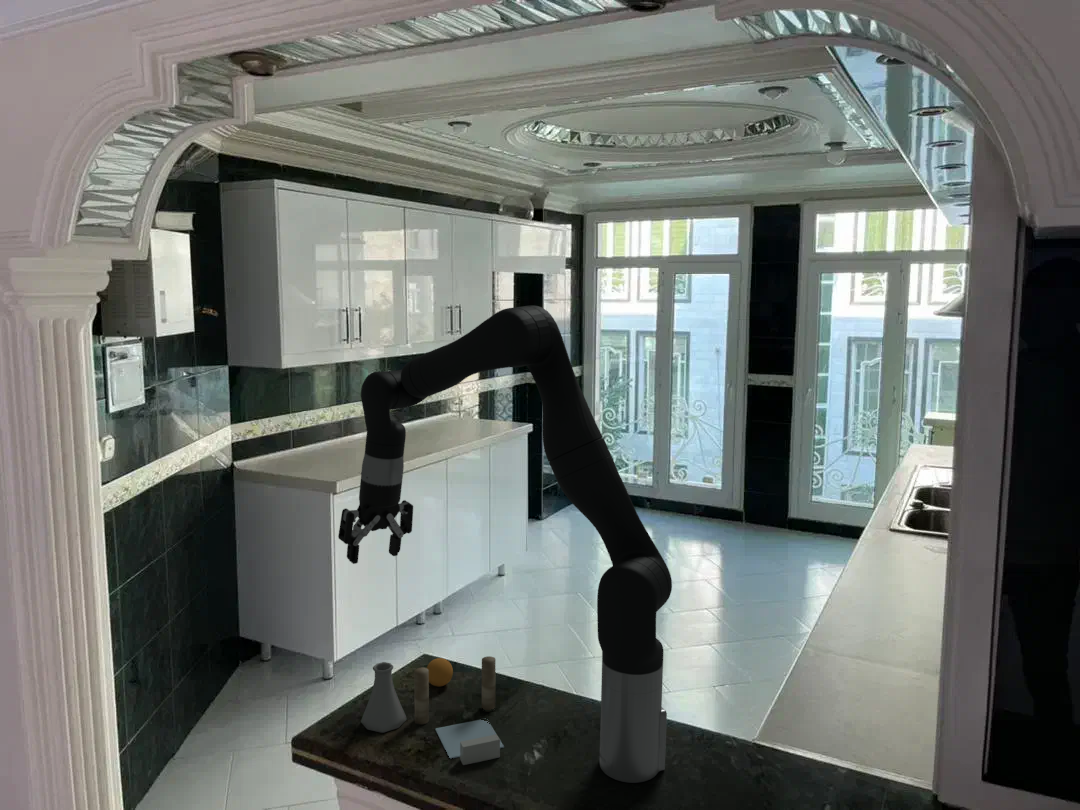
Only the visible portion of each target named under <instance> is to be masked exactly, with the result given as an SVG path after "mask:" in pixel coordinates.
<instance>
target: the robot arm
mask: <svg viewBox="0 0 1080 810" xmlns="http://www.w3.org/2000/svg"><path fill="white" fill-rule="evenodd" d="M565 344H566V343H565V341H564V339H563V337H562V333H561V331H560V328H559V326H558V323H557V322H556V320H555V318H554V317H553V315H552V314H551V313H550V312H549V311H548V310H547V309H545V308H543V307H542V306H538V305H525V306H524V305H523V306H516V307H507V308H504V309H501V310H498V311H497V312H495V313H494V314H493V315H491V316H490V317H488V318H487V319H486V320H484V321H483V322H481V323H480V324H478V325H477V326H476V327H474V328H473V329H472V330H470V331H469V332H467V333H466V334H464V335H463V336H461V337H460V338H457V339H456V340H453V341H452V342H450V343H448V344H445V345H443V346H440V347H438V348H434V349H433V350H430V351H428V352H426V353H423V354H422V355H419V356H417V357H415V358H413V359H410V360H409V361H408V362H406V363H405V364H404V366H403V367H402V369H398V370H397V369H395V370H383V371H382V370H381V371H373V372H371V373H369V374H368V375H367V376H366V377H365V379H363V382H362V386H361V389H360V398H361V405H362V409H363V410H362V412H363V417H364V422H365V427H366V437H365V446H364V447H365V448H364V455H363V459H362V464H361V471H360V481H359V482H360V483H359V494H358V501H359V505H358V506H357V509H351V510H349V509H348V508H343V509H342V510H341V516H340V523H339V529H338V536H337V537H338V539H339V540H340V541H341V542H343V544H345V545H347V548H346V549H347V550H346V558H347V559H348V561H349V562H351V564H353V565H356V564H358V563H359V553H360V545H359V544H360V542H361V541H362V540H363V539H364V538H365V537H367V536H368V535H369V534H370V532H375V531H377V530H378V531H379V530H386V529H389V530H390V532H391V533H392V534H390V537H389V544H388V553H389V554H390V555H391V556H393V557H396V556H398V554H399V553H400V551H401V547H402V538H404V535H406V534H410V533H412V532H413V517H414V504H412V503H410V502H409V501H407V500H406V499H403V500H402V501H401V495H402V488H403V487H402V486H403V476H404V470H405V469H404V467H405V465H404V455H405V454H404V453H405V448H406V447H405V444H406V437H407V434H406V430H407V429H406V427H405V426H404V424H402V422H400V421H396V420H392V419H391V415H390V414H391V413H390V412H391V411H393V410H400V409H401V410H402V409H406V408H411V407H413V406H416V405H418V404H420V403H421V402H422V401H424V400H425V399H427V398H428V397H431V396H434V395H436V394H438V393H442V392H444V391H446V390H449V389H451V388H454V387H455V386H457V385H459V384H460V383H461V382H463V381H464V380H466V379H467V378H468V377H470V376H473V375H475V374H478V373H481V372H485V371H492V370H499V369H507V368H508V369H509V368H517V369H518V368H524V367H527V369H528V370H529V372H530V374H531V376H532V379H533V380H534V383H535V385H536V387H537V390H538V393H539V397H540V399H541V405H542V406H541V407H542V426H541V427H542V432H541V433H542V446H543V450H544V454H545V457H546V459H547V461H548V465H549V466H550V469H551V471H552V473H553V475H554V477H555V479H556V482H557V484H558V485H559V488H560V489H561V492H563V494H564V496H566V498H567V499H568V501H570V503H571V504H572V505H573V506H574V507H575V508H576V509H577V510H578V512H580V513H581V514H582V515H583V516H584V517H585V518H586V519H587V520H588V521H589V522H590V523H591V524H592V526H593V527H594V528H595V530H596V531H597V533H598V534H599V536H600V538H601V540H602V542H603V544H604V546H605V548H606V551H607V553H608V556H609V558H610V562H611V564H612V566H610V567H608V568H607V570H605V571H604V573H603V574H602V576H601V578H600V580H599V583H598V587H597V597H596V598H597V599H596V601H597V603H596V606H597V607H596V609H597V611H596V615H597V616H596V617H597V620H596V621H597V639H598V640H597V641H598V645H599V646H600V648H601V686H600V687H601V692H600V693H601V694H600V695H601V696H600V697H601V699H600V729H599V730H600V732H599V733H600V734H599V735H600V737H599V752H598V753H599V767H600V769H601V772H603V773H604V774H605V776H608V777H610V778H612V779H614V780H616V781H619V782H622V783H628V784H629V783H633V784H637V783H643V782H647V781H649V780H651V779H653V778H655V776H657V774H658V773H659V772H661V771H664V770H665V769H666V768H665V767H666V750H667V749H666V746H667V717H668V716H667V715H668V713H667V710H666V709H665V708H663V707H662V706H663V704H662V701H663V679H664V678H663V677H664V676H663V675H664V646H663V644H662V642H661V641H660V640H659V639H658V638H657V612H658V611H659V610H660V609H661V608H662V607H664V605H665V604H666V603H667V602H668V600H669V599H670V597H671V593H672V590H673V584H672V583H673V582H672V581H673V580H672V575H671V572H670V569H669V568H668V565H667V563H666V562H665V560H664V558H663V556H662V555H661V552H660V551H659V550H658V548H657V546H656V544H655V543H654V541H653V539H652V538H651V536H650V534H649V533H648V530H647V529H646V528H645V526H644V524H643V522H642V520H641V518H640V516H639V515H638V513H637V512H638V511H636V508H635V506H634V504H633V501H632V499H631V497H630V495H629V493H628V490H627V488H626V486H625V483H624V482H623V480H622V478H621V476H620V475H621V474H620V473H619V470H618V468H617V466H616V463H615V461H614V458H613V457H612V454H611V452H610V449H609V448H608V446H607V445H608V444H607V442H606V441H605V438H604V437H603V434H602V433H601V430H600V429H599V427H598V425H597V422H596V421H595V418H594V416H593V414H592V412H591V409H590V406H589V405H588V402H587V399H586V398H585V395H584V393H583V390H582V388H581V386H580V385H579V381H578V380H577V377H576V373H575V371H574V369H573V365H572V362H571V360H570V357H569V353H568V351H567V348H566V345H565ZM399 514H400V519H399V521H400V522H399V523H398V522H397V520H396V519H395V518H396V517H397V516H398V515H399ZM357 518H358V519H357ZM362 527H363V528H362Z"/></svg>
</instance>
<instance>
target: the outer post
mask: <svg viewBox="0 0 1080 810" xmlns="http://www.w3.org/2000/svg"><path fill="white" fill-rule="evenodd" d="M413 673H414V674H413V676H414V677H413V678H414V679H413V680H414V681H413V683H414V685H413V686H414V690H413V691H414V692H413V693H414V694H413V695H414V723H415V724H417V725H426V724H428V723H429V721H430V703H429V702H430V698H429V697H430V696H429V695H430V691H429V690H430V688H429V687H430V685H429V684H430V682H429V670H428V669H427V667H418V668H415V669H414V670H413Z"/></svg>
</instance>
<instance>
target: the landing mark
mask: <svg viewBox="0 0 1080 810" xmlns="http://www.w3.org/2000/svg"><path fill="white" fill-rule="evenodd" d="M488 721H489V720H488ZM488 721H484V720H481V719H476V720H472V721H465V722H462V723H456V724H451V725H447V726H442V727H441V726H440V727H437V728H434V729H435V732H436V734H437V735H438V738H439V740H440V743H441V745H442V747H443V749H444V750H446V751H445V753H446V752H447V753H446V754H447V756H449V757H448V759H449V758H450V760H451V759H452V758H453V759H456V758H457V759H458V758H460V742H461V741H466V740H471V739H476V738H481V737H486V736H491V735H495V734H497V733H496V731H495V730H494V728H493V725H491V723H490V722H488ZM487 722H488V723H487ZM489 723H490V724H489ZM504 748H505V746H504V744H503V743H502V740H500V749H504ZM453 759H452V760H453Z"/></svg>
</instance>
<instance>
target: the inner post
mask: <svg viewBox="0 0 1080 810" xmlns="http://www.w3.org/2000/svg"><path fill="white" fill-rule="evenodd" d="M482 708H483V709H485V710H491V709H494V708H495V709H496V657H494V656H484V657H481V709H482ZM495 709H494V710H495Z"/></svg>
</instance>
